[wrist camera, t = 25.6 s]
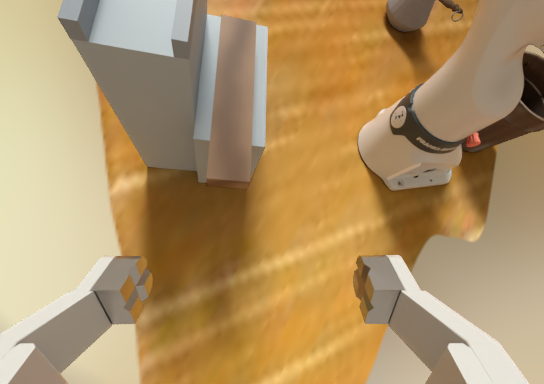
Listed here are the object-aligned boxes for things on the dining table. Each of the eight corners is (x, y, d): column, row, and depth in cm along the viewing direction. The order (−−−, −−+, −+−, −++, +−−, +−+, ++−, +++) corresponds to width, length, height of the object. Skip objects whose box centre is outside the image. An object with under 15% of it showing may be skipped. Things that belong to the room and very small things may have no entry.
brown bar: (253, 38, 36) (256, 22, 34) (246, 188, 30) (250, 182, 28) (220, 31, 35) (221, 14, 33) (206, 185, 29) (206, 178, 27)
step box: (251, 96, 53) (292, -74, 27) (247, 186, 47) (294, 82, 21) (160, 82, 49) (106, -131, 23) (145, 178, 43) (50, 40, 17)
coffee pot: (378, -1, 70) (420, -69, 56) (415, 8, 73) (464, -54, 59) (388, 64, 64) (438, 6, 50) (427, 72, 67) (486, 19, 53)
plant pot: (426, 100, 63) (493, 47, 48) (476, 99, 68) (552, 51, 53) (448, 162, 59) (529, 126, 44) (500, 158, 64) (590, 123, 49)
